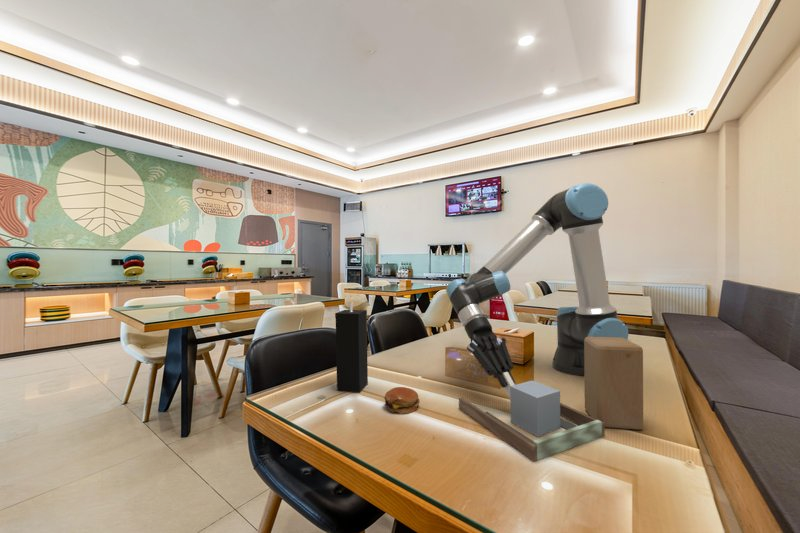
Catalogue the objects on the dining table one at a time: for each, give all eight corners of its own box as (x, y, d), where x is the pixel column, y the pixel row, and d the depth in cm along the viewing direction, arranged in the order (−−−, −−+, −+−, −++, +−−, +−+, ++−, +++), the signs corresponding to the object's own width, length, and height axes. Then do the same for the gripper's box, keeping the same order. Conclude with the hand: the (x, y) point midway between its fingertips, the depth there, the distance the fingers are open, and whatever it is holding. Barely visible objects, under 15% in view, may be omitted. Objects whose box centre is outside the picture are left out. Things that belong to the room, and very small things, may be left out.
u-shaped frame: (519, 394, 98) (519, 382, 98) (604, 435, 74) (604, 420, 74) (458, 408, 89) (458, 396, 89) (533, 461, 65) (533, 444, 65)
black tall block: (336, 391, 102) (334, 302, 102) (346, 381, 110) (344, 299, 109) (359, 393, 100) (358, 303, 100) (368, 383, 108) (366, 300, 108)
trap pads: (527, 401, 92) (527, 401, 92) (578, 427, 78) (578, 426, 78) (476, 415, 85) (476, 414, 85) (522, 446, 70) (522, 445, 70)
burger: (413, 398, 96) (413, 382, 96) (423, 412, 87) (423, 395, 87) (381, 402, 94) (381, 386, 94) (387, 417, 85) (387, 399, 85)
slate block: (532, 414, 85) (532, 380, 85) (560, 428, 78) (560, 390, 78) (510, 421, 81) (510, 386, 81) (537, 436, 74) (537, 398, 74)
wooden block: (645, 431, 75) (644, 346, 75) (598, 428, 77) (597, 345, 77) (624, 412, 85) (624, 336, 85) (583, 409, 87) (582, 335, 87)
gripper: (486, 327, 104) (526, 399, 89) (452, 331, 98) (488, 408, 83) (497, 313, 99) (542, 386, 84) (462, 317, 93) (503, 396, 78)
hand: (515, 397), depth 84 cm, fingers closed
